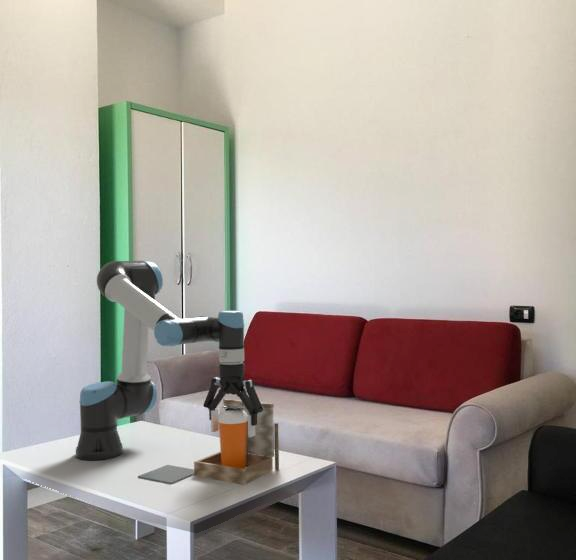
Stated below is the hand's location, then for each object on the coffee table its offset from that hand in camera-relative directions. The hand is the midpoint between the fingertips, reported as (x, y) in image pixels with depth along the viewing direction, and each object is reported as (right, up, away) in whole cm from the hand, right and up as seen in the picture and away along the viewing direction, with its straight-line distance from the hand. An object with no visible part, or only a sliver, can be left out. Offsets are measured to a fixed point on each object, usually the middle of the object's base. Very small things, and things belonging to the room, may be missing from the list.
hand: (233, 433), depth 198 cm
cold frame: (+1, -12, +1) cm, 12 cm away
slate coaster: (-19, -12, -1) cm, 22 cm away
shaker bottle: (0, -12, 0) cm, 12 cm away
